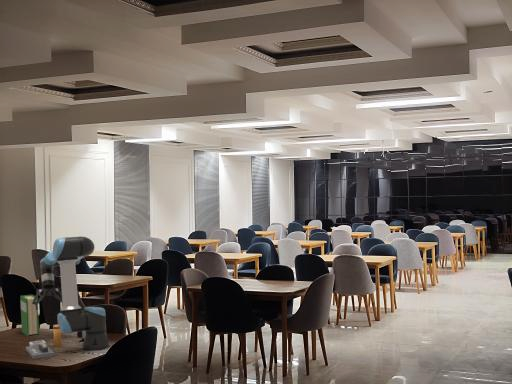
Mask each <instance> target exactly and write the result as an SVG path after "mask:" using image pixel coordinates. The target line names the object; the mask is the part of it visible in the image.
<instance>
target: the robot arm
mask: <svg viewBox="0 0 512 384" xmlns="http://www.w3.org/2000/svg"><path fill="white" fill-rule="evenodd" d="M95 248H96V247H95V243H94V241H93V240H92V239H91V238H88V237H86V236H71V237H70V236H68V237H67V236H66V237H65V236H64V237H58V238H56V239H55V240H54V243H53V245H52V251H51V252H49V251H48V253H46V255H45V256H44V257H43V258H42V259H41V260H40V262H39V263H40V264H39V266H40V276H41V277H40V278H41V289H40V288H37V290H36V294H35V295H34V296H35V298H34V300H33V302H32V304H35V305H36V310H38V315H39V316H40V314H41V313H40V311H41V310H40V302H41V301H42V300H43V298H45V297H52V296H53V297H54V298H55V299H56V300H57V301H59V302H60V303H59V304H60V305H59V306H60V310H59V311H60V312H59V313H57V315H56V316H57V325H59V328H60V330H61V333H63V334H72V333H78V332H79V331H86V335H85V338H83V339H84V340H83V343H82V349H83V350H87V351H97V350H105V349H108V348H109V347H110V345H111V342H110V340H109V337H108V334H107V324H106V323H107V321H106V320H107V319H106V316H107V315H106V309H105V308H104V307H100V306H99V307H98V306H85V307H84V308H83V310H82V307H81V305H80V304H79V298H78V297H79V296H78V282H77V271H76V270H77V269H76V265H79V264H80V263H81V259H83V258H86V257H88V256H91V255H92V254H93V253H94V251H95ZM55 267H59V271H60V284H61V285H60V286H61V287H57V288H56V287H55V285H56V284H55V274H54V268H55ZM56 292H57V293H58V294H57V293H56ZM41 293H42V294H41ZM40 294H41V295H40ZM39 295H40V297H39ZM37 297H39V298H38V300H37V301H36V299H37ZM35 301H36V302H35Z"/></svg>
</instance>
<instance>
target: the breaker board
mask: <svg viewBox="0 0 512 384" xmlns="http://www.w3.org/2000/svg"><path fill="white" fill-rule="evenodd" d="M28 343H29V346H25V351H26V352H27V353H28V355H29V356H30V357H31V358H32V359H33V360H38V359H43V358H49V357H55V352H54V351H53V350H52V349H51V347H49V346H48V345H47V342H46V341H45V340H43V339H41V340H35V341H29V342H28Z"/></svg>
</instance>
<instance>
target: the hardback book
mask: <svg viewBox="0 0 512 384" xmlns="http://www.w3.org/2000/svg"><path fill="white" fill-rule="evenodd" d="M35 296H36V295H33V294H26V295H25V294H24V295H20V299H19V301H20V319H21V321H20V323H21V325H20V326H21V333H22V334H24V335H25V336H26V337H29V336H30V335H31V336H32V335H36V336H38V335H40V321H39V320H40V318H39V316H40V315H38V310H36V305H35V304H32V302H33V300H34V298H35ZM38 297H39V296H38ZM38 297H37V299H36V301H37V300H38V299H39V298H38ZM36 301H35V302H36Z"/></svg>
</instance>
